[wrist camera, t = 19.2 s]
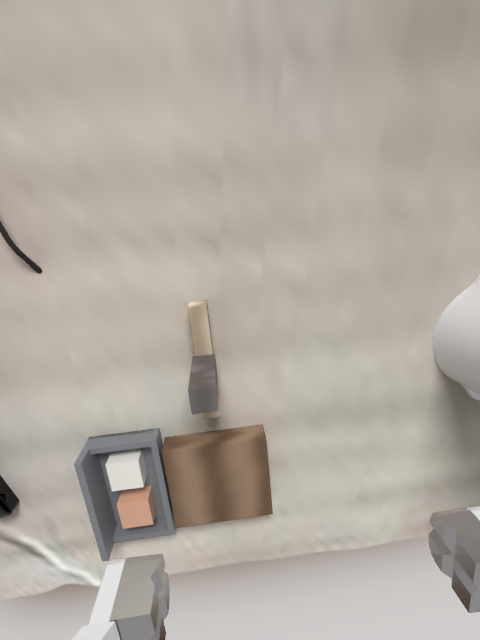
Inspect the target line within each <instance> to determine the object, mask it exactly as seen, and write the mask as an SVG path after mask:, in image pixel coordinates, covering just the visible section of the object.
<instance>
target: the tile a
mask: <svg viewBox="0 0 480 640" xmlns="http://www.w3.org/2000/svg"><path fill="white" fill-rule="evenodd" d="M105 466H106V470H107V474H108V478H109V482H110V486H111V490H112V491H119V490H127V489H134V488H142V487H144V485H145V481H146V477H147V468H146V463H145V459H144V454H143V449H142V448H137V449H130V450H122V451H114V452H111V454H110V456H109V458H108V460H107V463H106V465H105Z"/></svg>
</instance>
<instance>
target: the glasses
mask: <svg viewBox="0 0 480 640" xmlns="http://www.w3.org/2000/svg"><path fill="white" fill-rule="evenodd" d="M0 232H1V234H2V236H3V237H4V239H5V240H6V242H7V243H8V245H9V246H10V247H11V248H12V249H13V251H14V252H15V253H16V254H17V255H18V256H20V257H21V258H22V259H23V260H24V261H25V262H26V263H27V264H29V265H30V266H31V267H32V268H33V269H34V270H35V271H37V272H38V273H41V272H42V270H41V268H40V267H38V266H37V265H36V264H35V263H34V262H33V261H32V260H31V259H29V258H28V257H27V256H26V255H25V254H24V253H23V252H21V251H20V250H19V249H18V247H17V246H16V245H15V244H14V243H13V241H12V240H11V238H10V237H9V235H8V233H7V232H6V230H5V228H4V226H3V225H2V223H1V221H0Z"/></svg>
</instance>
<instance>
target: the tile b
mask: <svg viewBox="0 0 480 640" xmlns="http://www.w3.org/2000/svg"><path fill="white" fill-rule="evenodd" d="M117 508H118V512H119V516H120V520H121V524H122V527H123V529H126V528H133V527H140V526H146V525H153V524H154V519H155V514H156V505H155V500H154V496H153V491H152V487H151V486H146V487H142V488H134V489H127V490H121V493H120V496H119V499H118V502H117Z"/></svg>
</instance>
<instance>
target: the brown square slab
mask: <svg viewBox="0 0 480 640" xmlns="http://www.w3.org/2000/svg"><path fill="white" fill-rule="evenodd" d="M162 456H163V461H164V466H165V471H166V477H167V482H168V487H169V492H170V497H171V502H172V507H173V512H174V517H175V522H176V528H179V527H186V526H193V525H200V524H207V523H214V522H221V521H228V520H235V519H241V518H248V517H255V516H262V515H269V514H273V512H272V500H271V489H270V477H269V466H268V455H267V443H266V436H265V432H264V428H263V425H256V426H249V427H241V428H233V429H226V430H218V431H211V432H203V433H195V434H188V435H180V436H173V437H165V440H164V445H163V449H162Z"/></svg>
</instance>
